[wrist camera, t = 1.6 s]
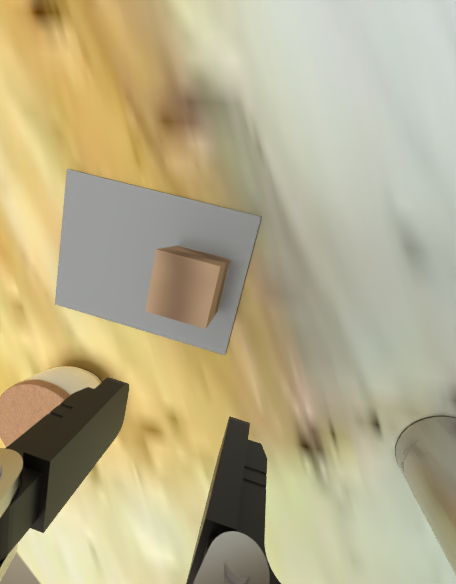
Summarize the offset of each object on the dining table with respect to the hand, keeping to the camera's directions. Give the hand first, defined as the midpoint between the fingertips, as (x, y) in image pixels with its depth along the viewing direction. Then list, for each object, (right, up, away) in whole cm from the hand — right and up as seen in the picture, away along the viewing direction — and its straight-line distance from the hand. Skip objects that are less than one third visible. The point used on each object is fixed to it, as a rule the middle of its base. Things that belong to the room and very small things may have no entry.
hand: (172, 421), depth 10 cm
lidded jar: (-17, -9, +28) cm, 34 cm away
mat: (-7, +8, +23) cm, 25 cm away
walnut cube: (-1, +6, +22) cm, 22 cm away
